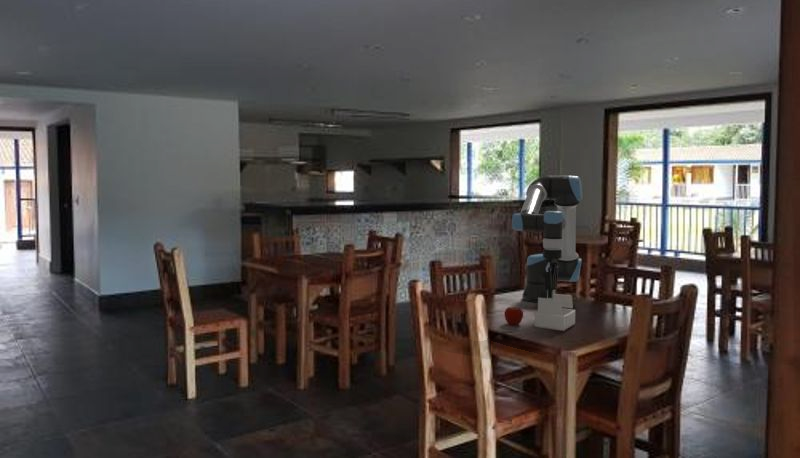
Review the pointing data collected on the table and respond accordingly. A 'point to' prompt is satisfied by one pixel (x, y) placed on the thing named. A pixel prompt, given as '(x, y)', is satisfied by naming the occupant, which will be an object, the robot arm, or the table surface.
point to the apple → (513, 315)
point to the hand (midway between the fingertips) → (550, 305)
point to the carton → (555, 320)
